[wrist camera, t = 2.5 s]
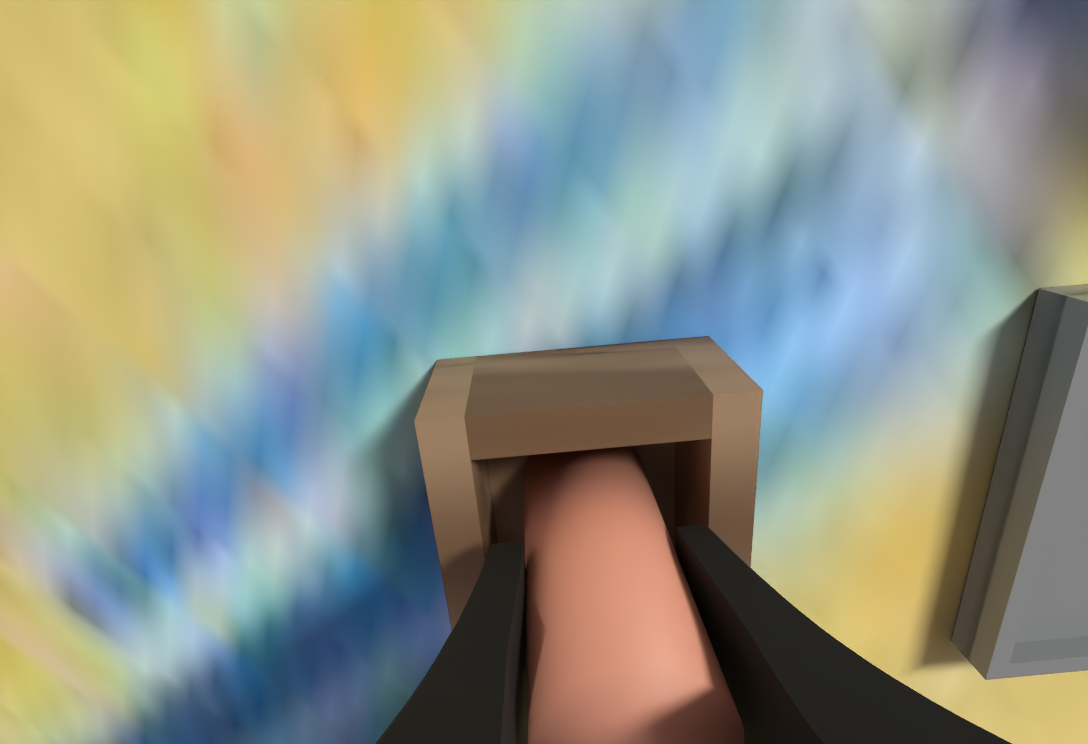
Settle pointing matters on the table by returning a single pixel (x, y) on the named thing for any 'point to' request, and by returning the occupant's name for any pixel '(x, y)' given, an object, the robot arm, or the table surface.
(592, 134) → the table surface
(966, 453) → the table surface
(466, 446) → the holder
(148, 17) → the table surface
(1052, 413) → the tray
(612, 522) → the pink rounded capsule
